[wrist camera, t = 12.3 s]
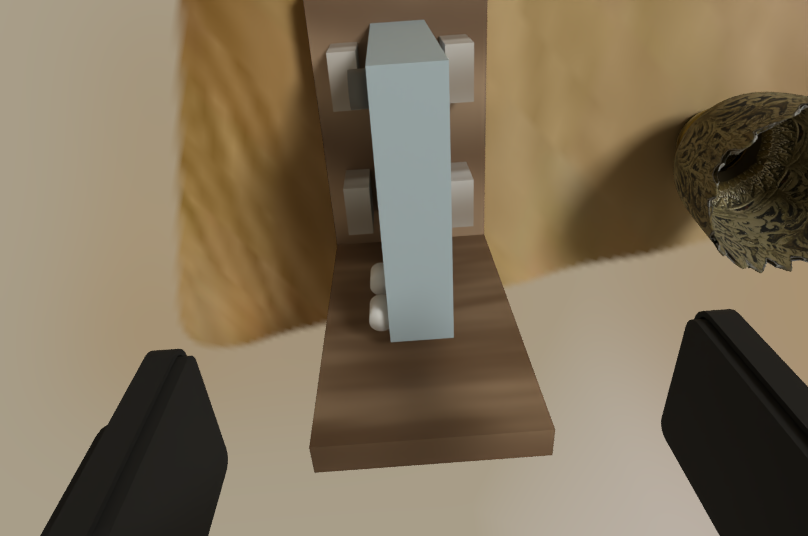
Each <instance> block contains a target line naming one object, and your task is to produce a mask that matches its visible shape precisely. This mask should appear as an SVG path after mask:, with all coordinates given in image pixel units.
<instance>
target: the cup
mask: <svg viewBox="0 0 808 536" xmlns="http://www.w3.org/2000/svg"><path fill="white" fill-rule="evenodd" d="M673 170H674V181H675V185H676V189H677V191H678V194H679V196H680V198H681V200H682V202H683V204H684V205H685V207H686V208H687V210H688V211H689V213H690V214H691V215H692V217H693V218H694V219H695V221H696V222H697V223H698V225H699V226H700V227H701V228H702V230H703V231H704V232H705V233H706V235H707V236H708V237H709V238H710V240H711V241H712V242H713V243H714V245H715V246H716V248H717V250H718V251H719V252H720V253H721V255H722V256H724V255H726V256H727V257H728V258H729V259H730V260H731V261H732V262H733V263H734V264H736V265H737V266H739V267H740V268H742V269H744V268H746V267H748V268H752V269H754V270H755V271H757V272H759V273H762V272H763V271H764V268H765V266H766V264H767V262H768V263H770V264H772V265H773V266H774V267H776V268H780V269H783V270H786V271H790V272H791V271H792V261H796V260H802V261H805V262H808V96H803V95H796V94H789V93H779V92H755V93H747V94H742V95H739V96H735V97H732V98H729V99H727V100H724V101H722V102H720V103H718V104H716V105H715V106H713V107H711V108H710V109H707V110H704V111H702V112H700V113H698V114H696V115H695V116H693V117H692V118H691V119H690V120H689V121H688V122H687V123H686V124H685V125H684V126H683V128H682V129H681V131H680V133H679V135H678V138H677V142H676V154H675V159H674V167H673Z"/></svg>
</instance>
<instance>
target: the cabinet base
mask: <svg viewBox="0 0 808 536" xmlns="http://www.w3.org/2000/svg"><path fill="white" fill-rule="evenodd" d="M303 2H304V9H305V16H306V23H307V31H308V38H309V45H310V52H311V59H312V66H313V74H314V81H315V88H316V95H317V102H318V109H319V117H320V124H321V131H322V138H323V145H324V152H325V160H326V167H327V174H328V181H329V188H330V196H331V203H332V210H333V217H334V224H335V231H336V239H337V252H336V259H335V266H334V273H333V280H332V288H331V295H330V302H329V309H328V316H327V324H326V331H325V338H324V345H323V353H322V360H321V367H320V374H319V382H318V389H317V396H316V403H315V411H314V418H313V425H312V432H311V439H310V446H309V449H310V453H311V458H312V462H313V467H314V472H315V473H316V472H329V471H343V470H357V469H370V468H383V467H396V466H411V465H424V464H438V463H451V462H465V461H478V460H492V459H505V458H517V457H518V458H519V457H532V456H545V455H552V453H553V444H554V435H555V428H554V425H553V423H552V420H551V417H550V414H549V412H548V409H547V406H546V403H545V401H544V398H543V395H542V393H541V390H540V387H539V384H538V381H537V379H536V376H535V373H534V370H533V368H532V365H531V362H530V360H529V357H528V354H527V351H526V348H525V346H524V343H523V340H522V337H521V335H520V332H519V329H518V326H517V324H516V321H515V318H514V315H513V313H512V310H511V307H510V305H509V302H508V299H507V296H506V294H505V291H504V288H503V285H502V282H501V280H500V277H499V274H498V272H497V269H496V266H495V263H494V261H493V258H492V255H491V252H490V250H489V247H488V244H487V241H486V239H485V236H484V196H485V126H486V57H487V0H303ZM412 20H425V22H426V24H427V25H428V27H429V28H430V30H431V32H432V33H433V35H434V37H435V38H436V40H437V42H438V43H439V45H440V46H441V48H442V50H443V51H444V53H445V55H446V56H447V58H448V59H449V94H450V149H451V205H452V260H453V316H454V338H443V339H429V340H415V341H402V342H391V340H390V329H388V330H386V331H377V330H374V329H373V328H372V327H371V326H370V323H369V316H370V301H371V299H372V298H373V297H374V296H376V294H374V293H373V292H372V291H371V288H370V277H371V268H372V267H373V265H375V264H377V263H383V253H382V242H381V231H380V220H379V210H378V199H377V188H376V177H375V166H374V155H373V144H372V134H371V123H370V112H369V109H360V110H351V107H350V101H349V93H348V80H347V70H349V69H363V68H365V64H366V55H367V46H368V38H369V29H370V23H384V22H398V21H412Z"/></svg>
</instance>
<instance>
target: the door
mask: <svg viewBox="0 0 808 536" xmlns="http://www.w3.org/2000/svg"><path fill="white" fill-rule="evenodd" d="M347 80H348V93H349V101H350V107H351V110H360V109H369V112H370V123H371V134H372V144H373V155H374V166H375V177H376V188H377V199H378V210H379V220H380V231H381V242H382V253H383V263H377V264H375V265H373V267H372V268H371V277H370V288H371V291H372V292H373V293H374V294H376V296H374V297H373V298H372V299H371V301H370V316H369V323H370V326H371V327H372V328H373V329H374V330H377V331H386V330H388V329H390V340H391V342H402V341H415V340H429V339H443V338H454V316H453V260H452V205H451V149H450V94H449V59H448V58H447V56H446V55H445V53H444V51H443V50H442V48H441V46H440V45H439V43H438V42H437V40H436V38H435V37H434V35H433V33H432V32H431V30H430V28H429V27H428V25H427V24H426V22H425V20H412V21H398V22H384V23H370V29H369V38H368V46H367V55H366V64H365V68H363V69H349V70H347Z"/></svg>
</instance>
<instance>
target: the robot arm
mask: <svg viewBox="0 0 808 536" xmlns="http://www.w3.org/2000/svg"><path fill="white" fill-rule="evenodd" d="M661 427H662V431H663V435H664V437H665V439H666V441H667V443H668V445H669V446H670V448H671V450H672V452H673V454H674V455H675V457H676V459H677V461H678V462H679V464H680V466H681V468H682V470H683V471H684V473H685V475H686V477H687V478H688V480H689V482H690V484H691V486H692V487H693V489H694V491H695V493H696V494H697V496H698V498H699V500H700V502H701V503H702V505H703V507H704V509H705V510H706V512H707V514H708V516H709V517H710V519H711V521H712V523H713V525H714V526H715V528H716V530H717V532H718V533H719V535H720V536H808V387H807V385H806V384H805V383H804V382H803V381H802V380H801V379H800V378H799V377H798V376H797V375H796V374H795V373H794V372H793V371H792V369H790V367H789V366H788V365H787V364H786V363H785V362H784V361H783V360H782V359H781V358H780V357H779V356H778V355H777V354H776V352H775V351H774V350H773V349H772V348H771V347H770V346H769V345H768V344H767V343H766V342H765V341H764V340H763V339H762V338H761V337H760V335H759V334H757V332H756V331H755V330H754V329H753V328H752V327H751V326H750V325H749V324H748V323H747V322H746V321H745V320H744V319H743V317H742V316H741V315H740V314H739V313H737V312H736V311H735V310H731V309H726V310H711V311H701V312H698V313H697V315H696V316H695V318H694V319H693V320H689V321H688V322H687V325H686V327H685V331H684V335H683V339H682V343H681V346H680V350H679V354H678V358H677V362H676V365H675V369H674V373H673V377H672V381H671V384H670V388H669V392H668V396H667V399H666V404H665V407H664V411H663V415H662V419H661ZM227 464H228V455H227V450H226V446H225V444H224V441H223V438H222V435H221V432H220V429H219V426H218V423H217V420H216V417H215V414H214V411H213V408H212V405H211V402H210V400H209V397H208V394H207V391H206V388H205V385H204V382H203V379H202V376H201V374H200V370H199V368H198V364H197V362H196V359H195V358H194V357H193V356H187V355H186V353H185V352H184V351H183V350H182V349H171V350H157V351H150V352H149V353H147V355H146V356H145V358H144V360H143V361H142V363H141V365H140V367H139V369H138V371H137V373H136V374H135V376H134V378H133V380H132V381H131V383H130V385H129V387H128V389H127V391H126V392H125V394H124V396H123V398H122V400H121V401H120V403H119V405H118V407H117V409H116V411H115V412H114V414H113V416H112V418H111V420H110V422H109V423H108V425H107V426H105V427H104V428H102V429H101V430H100V432H99V433H98V434H97V436H96V437H95V439H94V441H93V442H92V445H91V446H90V448H89V450H88V451H87V453H86V455H85V457H84V459H83V460H82V462H81V464H80V466H79V468H78V469H77V471H76V473H75V475H74V476H73V478H72V480H71V482H70V484H69V485H68V487H67V489H66V491H65V492H64V494H63V496H62V498H61V500H60V501H59V503H58V505H57V507H56V509H55V510H54V512H53V514H52V516H51V518H50V519H49V521H48V523H47V525H46V526H45V528H44V530H43V532H42V534H41V535H40V536H208V534H209V531H210V527H211V524H212V520H213V517H214V513H215V509H216V506H217V502H218V499H219V495H220V492H221V488H222V484H223V481H224V478H225V474H226V470H227Z"/></svg>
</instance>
